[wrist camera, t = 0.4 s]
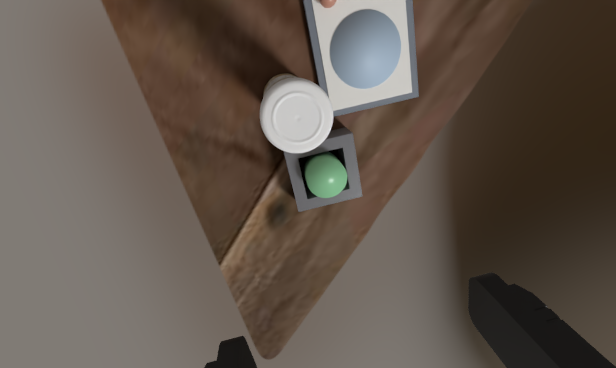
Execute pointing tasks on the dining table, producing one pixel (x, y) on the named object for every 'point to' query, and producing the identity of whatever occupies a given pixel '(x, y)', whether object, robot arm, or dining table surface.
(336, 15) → the tray with round recess
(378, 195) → the dining table surface
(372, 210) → the dining table surface
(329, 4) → the pink rounded rod
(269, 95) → the sprinkles bottle
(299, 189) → the button box
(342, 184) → the button
